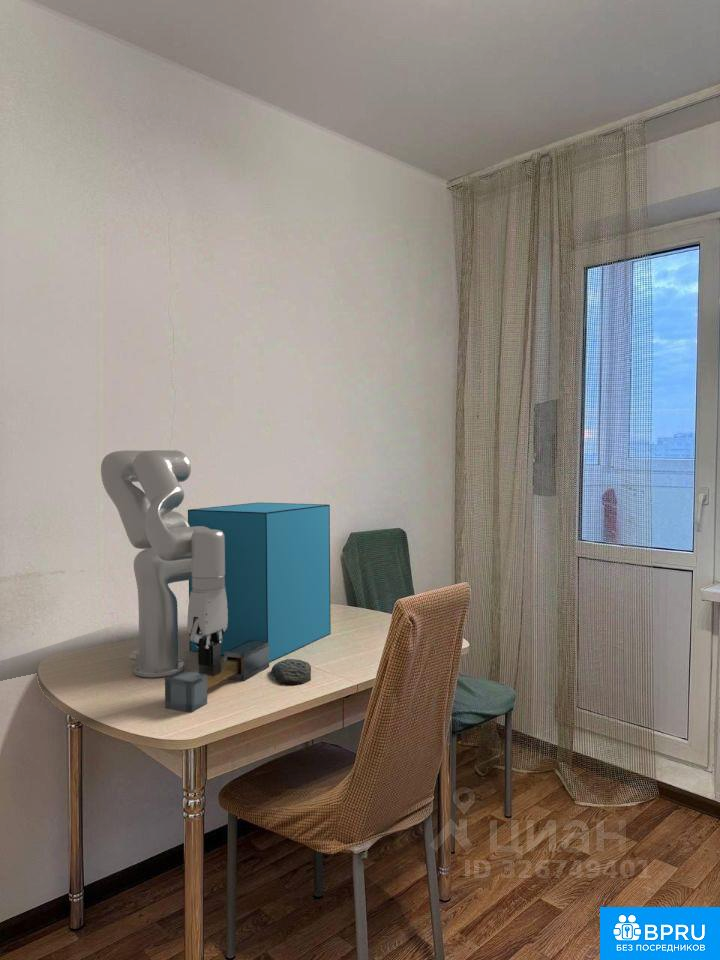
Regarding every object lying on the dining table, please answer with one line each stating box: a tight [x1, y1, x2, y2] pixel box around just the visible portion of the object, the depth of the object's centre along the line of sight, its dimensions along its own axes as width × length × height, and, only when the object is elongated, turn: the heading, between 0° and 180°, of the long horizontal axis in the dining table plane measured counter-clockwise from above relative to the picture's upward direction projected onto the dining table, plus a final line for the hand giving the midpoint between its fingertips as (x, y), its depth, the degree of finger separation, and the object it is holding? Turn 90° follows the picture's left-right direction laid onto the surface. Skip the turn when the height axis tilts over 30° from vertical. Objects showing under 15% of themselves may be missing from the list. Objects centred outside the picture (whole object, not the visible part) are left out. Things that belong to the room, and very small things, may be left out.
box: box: [187, 502, 332, 664], centre depth 197 cm, size 27×33×40 cm
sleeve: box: [223, 640, 270, 682], centre depth 170 cm, size 6×12×6 cm, turn 157°
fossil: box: [270, 658, 312, 687], centre depth 166 cm, size 10×13×4 cm
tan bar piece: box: [198, 641, 241, 690], centre depth 159 cm, size 4×22×10 cm, turn 157°
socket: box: [164, 670, 208, 713], centre depth 147 cm, size 7×6×6 cm
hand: (209, 661), depth 155 cm, fingers closed on tan bar piece, 3 cm apart
